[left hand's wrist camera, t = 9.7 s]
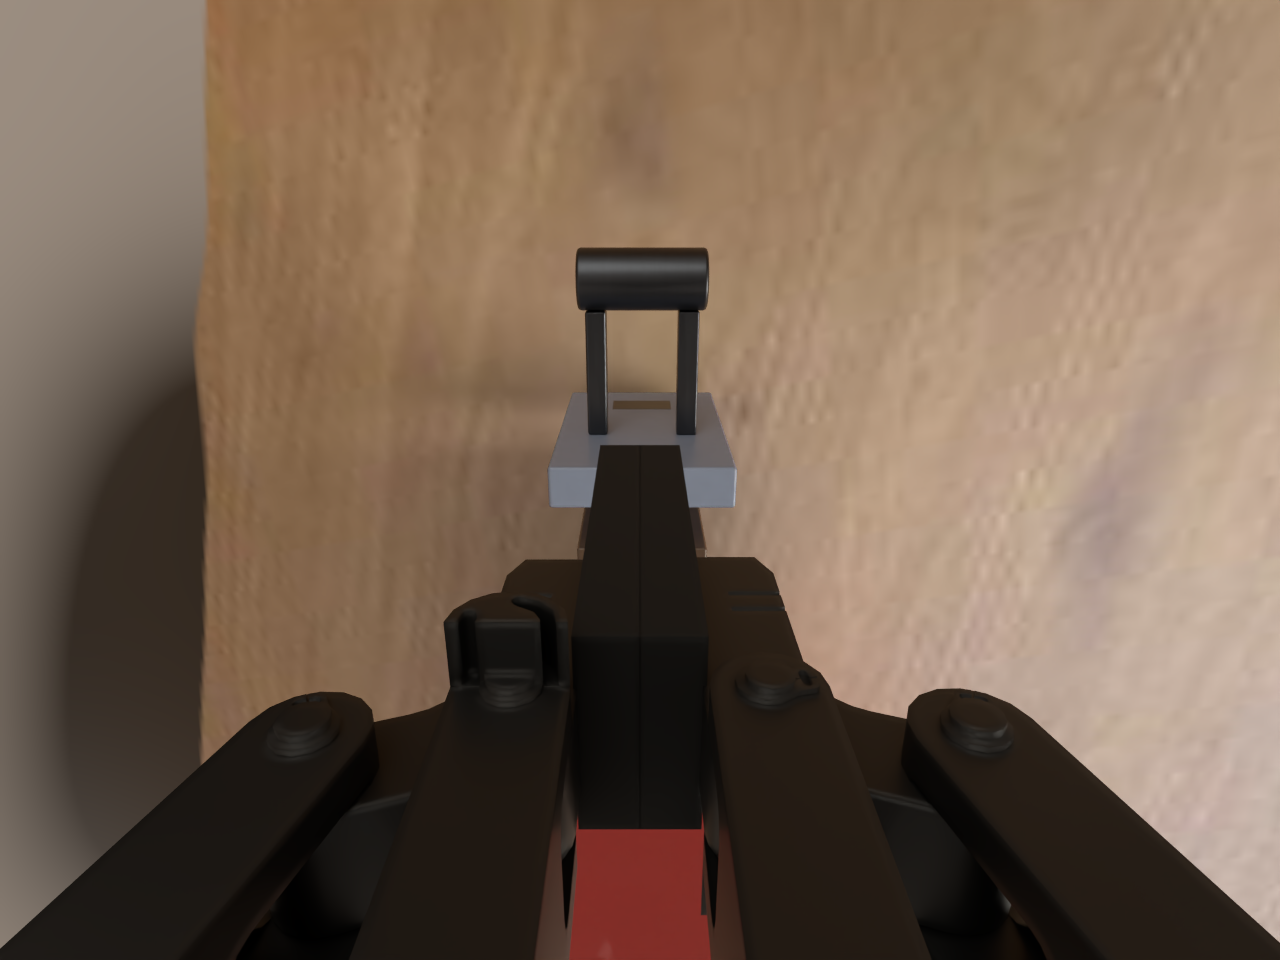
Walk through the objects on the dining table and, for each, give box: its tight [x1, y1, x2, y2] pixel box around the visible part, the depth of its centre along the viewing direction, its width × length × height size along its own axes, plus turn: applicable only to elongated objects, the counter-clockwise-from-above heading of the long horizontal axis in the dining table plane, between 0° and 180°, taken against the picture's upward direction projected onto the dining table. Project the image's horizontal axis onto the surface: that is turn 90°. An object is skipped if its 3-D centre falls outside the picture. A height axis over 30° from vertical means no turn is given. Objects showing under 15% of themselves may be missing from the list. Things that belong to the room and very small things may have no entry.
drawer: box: [548, 248, 737, 560], centre depth 27 cm, size 23×5×8 cm, turn 0°
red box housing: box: [569, 815, 711, 960], centre depth 32 cm, size 19×6×10 cm, turn 0°
